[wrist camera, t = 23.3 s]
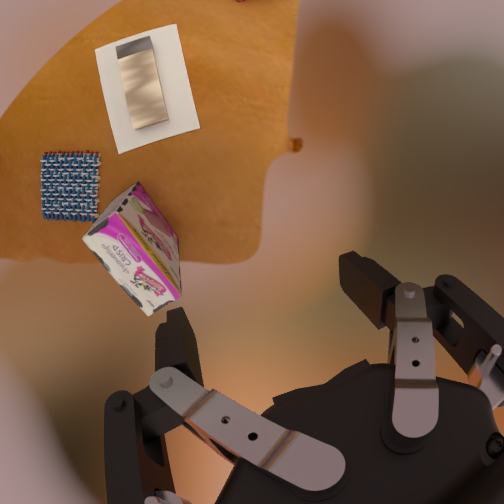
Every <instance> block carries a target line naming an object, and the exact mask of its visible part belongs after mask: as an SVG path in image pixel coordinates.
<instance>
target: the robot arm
mask: <svg viewBox="0 0 504 504" xmlns="http://www.w3.org/2000/svg"><path fill="white" fill-rule="evenodd" d="M339 276H340V285H341V287H342V289H343V291H344V292H345V293H346V294H347V295H348V297H349V298H350V299H351V300H352V301H353V302H354V303H355V304H356V305H357V306H358V308H359V309H360V310H361V311H362V312H363V313H364V314H365V315H366V316H367V317H368V318H369V319H370V321H371V322H372V323H373V324H374V325H375V326H376V327H377V329H378V330H379V329H381V328H383V327H385V326H387V327H388V328H389V329H390V330H389V345H388V357H387V364H386V363H379V364H371V365H370V364H369V363H368V361H367V360H366V359H365V360H363V361H361V362H358V363H356V364H354V365H352V366H350V367H348V368H346V369H344V370H343V371H341V372H340V373H339V374H338V375H336V376H335V377H333V378H332V379H331V380H329V381H328V382H326V383H325V384H322V385H317V386H311V387H305V388H299V389H295V390H292V391H290V392H287V393H284V394H281V395H278V396H276V397H273V402H274V405H272V406H271V407H270V408H268V409H267V410H265V411H264V412H263V413H262V414H261V415H258V414H256V413H255V412H253V411H251V410H249V409H247V408H246V407H244V406H242V405H240V404H239V403H237V402H235V401H234V400H232V399H230V398H228V397H227V396H225V395H224V394H222V393H220V392H218V391H217V390H214V389H212V390H211V391H208V390H207V389H205V388H204V384H203V379H202V373H201V367H200V361H199V354H198V348H197V342H196V338H195V334H194V332H193V329H192V327H191V325H190V323H189V320H188V318H187V316H186V314H185V312H184V310H183V308H182V307H179V308H176V309H172V310H169V311H167V322H166V323H162V324H160V325H159V327H158V329H157V331H156V336H155V338H156V339H155V340H156V342H155V348H156V349H155V373H154V374H153V375H152V377H151V379H150V382H149V385H148V386H147V387H146V388H145V389H143V390H141V391H139V392H137V393H135V394H133V395H132V394H131V393H129V392H128V391H123V390H122V391H117V392H115V393H113V394H112V395H110V397H108V399H107V400H106V403H105V410H104V411H105V412H104V457H105V458H104V459H105V477H106V490H107V501H108V504H192V503H191V502H190V501H189V500H187V499H185V498H183V497H181V496H179V495H176V492H175V488H174V483H173V479H172V475H171V469H170V464H169V459H168V454H167V447H166V442H165V436H164V434H165V433H167V432H168V431H170V430H172V429H174V428H176V427H178V426H180V425H182V426H183V427H185V428H186V429H187V430H188V431H190V432H191V433H192V434H193V435H195V436H196V437H197V438H199V439H200V440H201V441H203V442H204V443H205V444H207V445H208V446H209V447H210V448H212V449H213V450H214V451H215V452H216V453H217V454H219V455H220V456H221V457H223V458H224V459H226V460H227V461H229V462H230V463H232V464H233V465H234V467H233V469H232V471H231V473H230V475H229V477H228V479H227V481H226V483H225V485H224V487H223V489H222V491H221V493H220V494H219V496H218V498H217V500H216V502H215V504H504V437H503V436H502V435H501V433H500V432H499V430H498V428H497V425H496V423H495V419H494V416H493V410H494V409H495V408H496V407H501V406H503V405H504V318H503V317H502V316H501V315H500V314H498V313H497V312H496V311H495V310H494V309H493V308H492V307H491V306H490V305H488V304H487V303H486V302H485V301H484V300H483V299H481V298H480V297H479V296H478V295H477V294H475V293H474V292H473V291H472V290H471V289H470V288H468V287H467V286H466V285H465V284H463V283H462V282H461V281H460V280H459V279H457V278H456V277H454V276H452V275H447V274H446V275H445V274H444V275H440V276H438V277H437V278H436V280H435V285H434V286H431V287H426V288H422V287H421V286H420V285H418V284H416V283H413V282H404V283H401V282H400V281H399V280H398V279H397V278H395V277H394V276H393V275H392V274H390V273H389V272H388V271H387V270H385V269H384V268H383V267H382V266H380V265H379V264H378V263H377V262H375V261H374V260H372V259H369V258H367V257H361V256H360V255H359V254H357V253H356V252H355V251H351V252H348V253H345V254H342V255H340V256H339ZM453 312H454V313H455V314H456V315H457V316H458V317H459V318H460V319H461V320H462V322H463V324H464V328H463V327H462V326H461V325H460V324H459V323H458V322H457V321H456V320H455V319H454V318H453V317H452V314H453ZM433 336H434V337H435V338H436V339H437V340H438V341H439V343H440V344H441V345H442V346H443V347H444V348H445V349H446V351H447V352H448V353H449V354H450V355H451V356H452V358H453V359H454V360H455V361H456V362H457V363H458V365H459V366H460V367H461V368H462V369H463V370H464V372H465V373H466V374H467V375H468V377H467V378H468V383H469V384H465V383H461V382H456V381H452V380H448V379H444V378H441V377H437V376H435V354H434V341H433Z"/></svg>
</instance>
